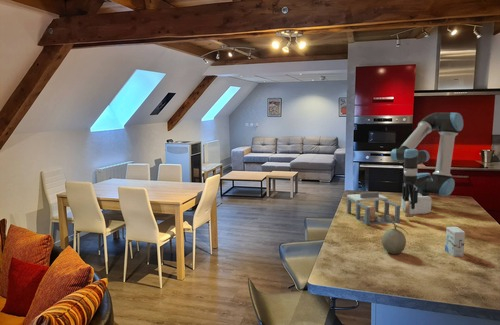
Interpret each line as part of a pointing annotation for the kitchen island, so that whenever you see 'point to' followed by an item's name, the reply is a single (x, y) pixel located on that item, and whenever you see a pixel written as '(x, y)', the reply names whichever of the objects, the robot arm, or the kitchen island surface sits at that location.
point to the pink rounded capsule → (408, 209)
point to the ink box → (455, 241)
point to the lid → (367, 197)
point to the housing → (367, 211)
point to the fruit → (394, 240)
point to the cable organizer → (420, 204)
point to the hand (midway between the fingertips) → (409, 212)
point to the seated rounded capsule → (372, 213)
